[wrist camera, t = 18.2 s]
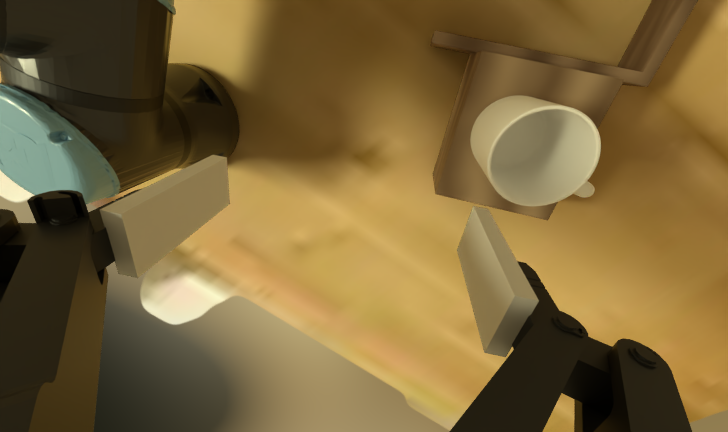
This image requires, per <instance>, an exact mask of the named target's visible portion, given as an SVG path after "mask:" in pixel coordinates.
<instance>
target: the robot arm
mask: <svg viewBox="0 0 728 432" xmlns="http://www.w3.org/2000/svg"><path fill="white" fill-rule="evenodd" d="M173 14H174V15H175V14H176V10H175V8H174V0H0V71H1V77H2V82H1V83H0V170H1V171H2V172H3V173H4V174H5V175H6V176H7V177H9V178H10V179H11V180H12V181H14V182H15V183H16V184H18V185H19V186H21V187H22V188H24V189H25V190H27V191H28V192H30V193H32V194H34V195H35V196H33V197H31V198H30V199H29V200H27V202H28V204H29V206H30V209H31V211H32V213H33V216H34V218H35V221H36V223H18V221H17V219H16V216H15V214H14V213H13V211H10V210H5V209H4V210H3V209H0V432H93V431H94V420H95V410H96V399H97V389H98V377H99V367H100V356H101V346H102V336H103V325H104V315H105V304H106V293H107V283H108V273H107V270H106V267H107V266H108V265H110V264H111V263H113V262H114V261H115V263H116V266H117V270H118V273H119V274H122V275H127V276H131V277H136V278H138V277H140V276H141V275H142V274H143V273H145V272H146V271H147V270H148V269H150V268H151V267H152V266H153V265H155V264H156V263H157V262H158V261H159V260H161V259H162V258H163V257H164V256H166V255H167V254H168V253H169V252H171V251H172V250H173V249H174V248H176V247H177V246H178V245H179V244H181V243H182V242H183V241H184V240H185V239H187V238H188V237H189V236H190V235H192V234H193V233H194V232H195V231H197V230H198V229H199V228H200V227H202V226H203V225H204V224H205V223H207V222H208V221H209V220H210V219H211V218H213V217H214V216H215V215H216V214H218V213H219V212H220V211H221V210H223V209H224V208H225V207H226V206H228V205H229V204H230V200H229V184H228V168H227V158H228V157H229V156H230V154H231V153H232V152H233V150H234V149H235V147H236V144H237V141H238V136H239V122H238V116H237V113H236V109H235V107H234V104H233V102H232V100H231V98H230V96H229V95H228V93H227V92H226V90H225V89H224V88H223V86H222V85H221V84H220V83H219V82H218V81H217V80H216V79H215V78H214V77H213V76H211V75H210V74H209V73H207V72H206V71H204V70H202V69H200V68H198V67H196V66H193V65H189V64H182V63H168V57H169V48H170V40H171V31H172V23H173ZM175 168H185V169H182V170H180V171H178V172H176V173H174V174H172V175H170V176H168V177H166V178H164V179H162V180H160V181H158V182H156V183H154V184H151V185H149V186H147V187H145V188H143V189H139V190H135V191H133V192H131V193H129V194H126V195H124V197H120V198H118V199H116V200H115V201H112V202H110V203H108V204H105V205H103V206H101V207H99V208H97V209H95V210H93V211H91V212H89V213H88V210H87V207H86V204H89V203H92V202H94V201H97V200H100V199H103V198H110V197H114V196H115V195H117V194H119V193H121V192H123V191H126V190H128V189H130V188H132V187H135V186H137V185H139V184H141V183H144V182H146V181H148V180H150V179H153V178H155V177H157V176H159V175H162V174H164V173H166V172H168V171H171V170H173V169H175ZM457 252H458V256H459V259H460V263H461V267H462V271H463V274H464V278H465V282H466V285H467V289H468V293H469V297H470V300H471V304H472V308H473V312H474V315H475V319H476V323H477V326H478V330H479V334H480V338H481V341H482V345H483V349H484V353H489V354H493V355H498V356H503V357H506V356H507V354H508V352H509V351H510V349H511V347H512V346H513V348H514V350H513V352H512V353H511V354H510V356H509V357H508V358H507V359H506V361H505V362H504V363H503V364H502V366H501V367H500V368H499V370H498V371H497V372H496V373H495V375H494V376H493V377H492V378H491V380H490V381H489V382H488V384H487V385H486V386H485V387H484V389H483V390H482V391H481V392H480V394H479V395H478V396H477V397H476V399H475V400H474V401H473V403H472V404H471V405H470V406H469V408H468V409H467V410H466V411H465V413H464V414H463V415H462V417H461V418H460V419H459V420H458V422H457V423H456V424H455V425H454V427H453V428H452V429H451V431H450V432H542V431H543V429H544V427H545V425H546V423H547V421H548V419H549V417H550V415H551V413H552V411H553V409H554V407H555V405H556V403H557V401H558V399H559V397H560V395H561V393H563V394H565V395H567V396H569V397H571V398H573V399H575V423H574V432H692V430H691V427H690V424H689V421H688V418H687V415H686V412H685V409H684V406H683V403H682V401H681V398H680V395H679V392H678V389H677V386H676V383H675V380H674V377H673V374H672V371H671V369H670V368H669V366H668V364H667V363H666V362H665V361H664V360H663V359H662V358H661V357H660V356H659V355H658V354H657V353H656V352H655V351H653V350H652V349H650V348H649V347H646V346H644V345H642V344H641V343H638V342H636V341H633V340H630V339H620V340H618V341H617V342H616V344H615V345H614V346H613V347H611V346H609V345H606V344H604V343H602V342H599V341H597V340H595V339H592V338H590V337H588V333H587V331H586V329H585V328H584V327H583V326H582V325H581V323H580V322H579V321H577V320H576V319H574V318H573V317H572V316H570V315H568V314H566V313H564V312H561V311H559V309H558V308H557V306H556V305H555V303H554V301H553V300H552V298H551V296H550V295H549V293H548V292H547V290H546V289H545V287H544V285H543V283H542V282H540V281H541V280H540V278H539V277H538V275H537V274H536V272H535V271H534V270H533V269H532V268H531V267H530V266H528V265H527V264H526V263H523V262H518V261H517V260H516V258H515V257H514V255H513V253H512V251H511V249H510V248H509V246H508V244H507V242H506V240H505V239H504V237H503V235H502V233H501V231H500V230H499V228H498V226H497V224H496V222H495V221H494V219H493V217H492V215H491V213H490V211H489V210H488V209H485V208H480V207H475V206H473V209H472V211H471V214H470V217H469V219H468V222H467V225H466V227H465V230H464V233H463V235H462V238H461V241H460V243H459V246H458V249H457Z"/></svg>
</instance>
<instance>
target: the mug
mask: <svg viewBox="0 0 728 432" xmlns="http://www.w3.org/2000/svg"><path fill="white" fill-rule="evenodd" d="M470 143H471V149H472V152H473V155H474V157H475V159H476V160H477V162H478V164H479V165H480V167H481V168H482V170H483V171H484V173H485V175H486V176H487V178H488V179H489V181H490V183H491V184H492V186H493V187H494V189H495V190H496V191H497V192H498V193H499V194H500V195H501V196H502V197H503V198H505V199H506V200H508V201H510V202H512V203H515V204H518V205H523V206H543V205H549V204H552V203H555V202H558V201H561V200H563V199H565V198H567V197H568V196H570V195H572V194H575V195H577V196H579V197H584V198H586V197H590V196H591V195H593V193H594V191H595V188H594V186H593V185H592V184H591V183H590V182H588V181H587V180H588V179H589V178H590V177H591V175H592V174H593V172H594V170H595V168H596V166H597V164H598V161H599V158H600V153H601V140H600V135H599V132H598V130H597V128H596V126H595V124H594V123H593V121H592V120H591V119H590V118H589V117H588V116H587V115H585V114H584V113H582V112H581V111H579V110H577V109H574V108H571V107H567V106H564V105H560V104H556V103H552V102H549V101H545V100H541V99H537V98H533V97H529V96H523V95H515V96H509V97H505V98H502V99H499V100H497V101H495V102H493V103H492V104H490V105H489V106H488V107H487V108H485V109H484V110H483V111H482V112H481V114H480V115H479V116H478V118H477V119H476V121H475V123H474V125H473V128H472V131H471V138H470Z"/></svg>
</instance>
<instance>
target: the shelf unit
mask: <svg viewBox="0 0 728 432" xmlns="http://www.w3.org/2000/svg"><path fill="white" fill-rule="evenodd" d="M697 1H698V0H652V2H651V4H650V6H649V8H648V9H647V11H646V13H645V15H644V17H643V19H642V21H641V23H640V25H639V27H638V29H637V30H636V32H635V34H634V36H633V38H632V40H631V42H630V44H629V46H628V48H627V50H626V51H625V53H624V55H623V57H622V59H621V61H620V63H619V65H618V67H615V66H610V65H605V64H600V63H595V62H590V61H585V60H580V59H575V58H570V57H565V56H560V55H555V54H550V53H545V52H540V51H535V50H530V49H525V48H520V47H515V46H510V45H505V44H500V43H496V42H491V41H486V40H481V39H476V38H471V37H466V36H461V35H456V34H451V33H446V32H441V31H436V30H435V32H434V34H433V37H432V41H431V45H430V46H434V47H439V48H444V49H448V50H453V51H458V52H463V53H468V54H470V55H469V58H468V62H467V65H466V68H465V71H464V75H463V78H462V81H461V84H460V87H459V91H458V94H457V97H456V100H455V104H454V107H453V110H452V113H451V117H450V120H449V123H448V126H447V129H446V133H445V136H444V139H443V142H442V146H441V149H440V152H439V155H438V159H437V162H436V165H435V168H434V171H433V180H434V187H435V194H437V195H442V196H446V197H450V198H455V199H459V200H463V201H467V202H472V203H476V204H480V205H484V206H489V207H493V208H497V209H502V210H506V211H510V212H514V213H519V214H523V215H527V216H531V217H536V218H540V219H544V220H548V219H549V217H550V215H551V214H552V212H553V210H554V208H555V206H556V204H557V202H555V203H552V204H549V205H543V206H523V205H518V204H515V203H512V202H510V201H508V200H506V199H505V198H503V197H502V196H501V195H500V194H499V193H498V192H497V191H496V190H495V189H494V187H493V186H492V184H491V183H490V181H489V179H488V178H487V176H486V175H485V173H484V171H483V170H482V168H481V167H480V165H479V164H478V162H477V160H476V159H475V157H474V155H473V152H472V149H471V143H470V138H471V131H472V128H473V125H474V123H475V121H476V119H477V118H478V116H479V115H480V114H481V112H482V111H483V110H484V109H485V108H487V107H488V106H489V105H490V104H492V103H493V102H495V101H497V100H499V99H502V98H505V97H509V96H515V95H523V96H529V97H533V98H537V99H541V100H545V101H549V102H552V103H556V104H560V105H564V106H567V107H571V108H574V109H577V110H579V111H581V112H582V113H584V114H585V115H587V116H588V117H589V118H590V119H591V120H592V121H593V123H594V124H595V126H596V128H597V129H598V127H599V125H600V123H601V122H602V120H603V118H604V116H605V114H606V112H607V111H608V109H609V107H610V105H611V103H612V101H613V99H614V98H615V96H616V94H617V92H618V90H619V88H620V87H621V85H632V86H643V87H648V85H649V84H650V82H651V80H652V78H653V77H654V75H655V73H656V72H657V70H658V68H659V66H660V65H661V63H662V61H663V60H664V58H665V56H666V54H667V53H668V51H669V49H670V48H671V46H672V44H673V42H674V41H675V39H676V37H677V36H678V34H679V32H680V30H681V29H682V27H683V25H684V24H685V22H686V20H687V18H688V17H689V15H690V13H691V12H692V10H693V8H694V6H695V5H696V3H697Z"/></svg>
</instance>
